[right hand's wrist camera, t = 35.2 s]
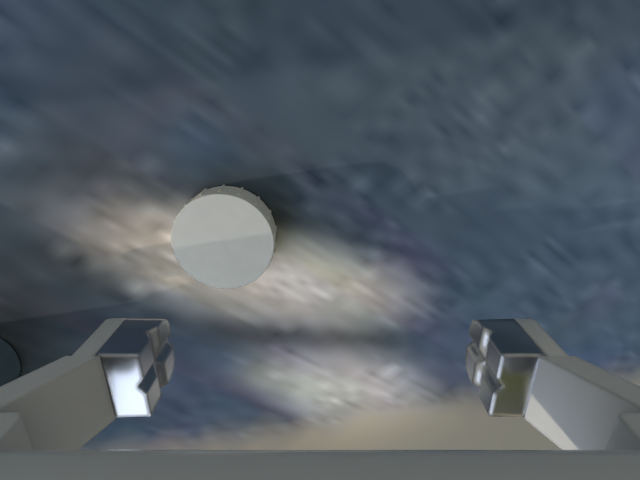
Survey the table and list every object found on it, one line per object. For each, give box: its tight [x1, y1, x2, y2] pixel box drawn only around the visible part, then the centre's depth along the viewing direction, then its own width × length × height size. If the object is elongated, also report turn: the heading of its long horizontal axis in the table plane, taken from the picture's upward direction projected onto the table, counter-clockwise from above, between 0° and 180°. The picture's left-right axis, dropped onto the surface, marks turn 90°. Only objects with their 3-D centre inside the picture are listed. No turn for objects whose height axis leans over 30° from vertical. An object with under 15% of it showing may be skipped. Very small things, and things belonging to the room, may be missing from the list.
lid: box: [171, 184, 277, 289], centre depth 19 cm, size 5×5×2 cm
